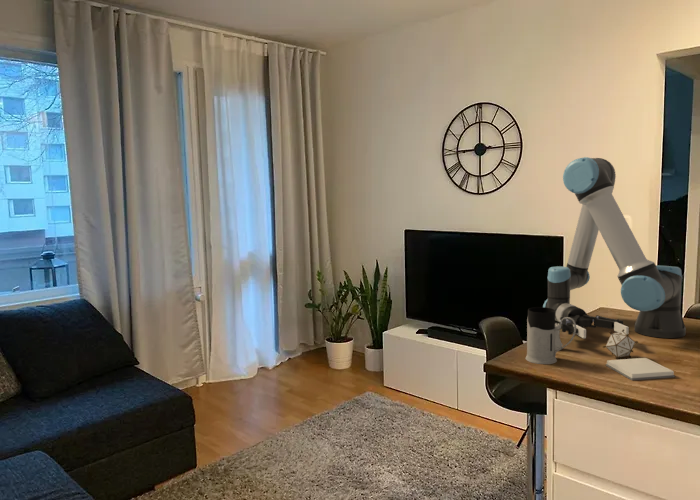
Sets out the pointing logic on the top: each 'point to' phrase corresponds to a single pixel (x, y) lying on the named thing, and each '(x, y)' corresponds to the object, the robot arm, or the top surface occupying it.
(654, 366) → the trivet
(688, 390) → the top surface
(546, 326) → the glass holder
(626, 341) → the game die
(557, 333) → the rook chess piece
